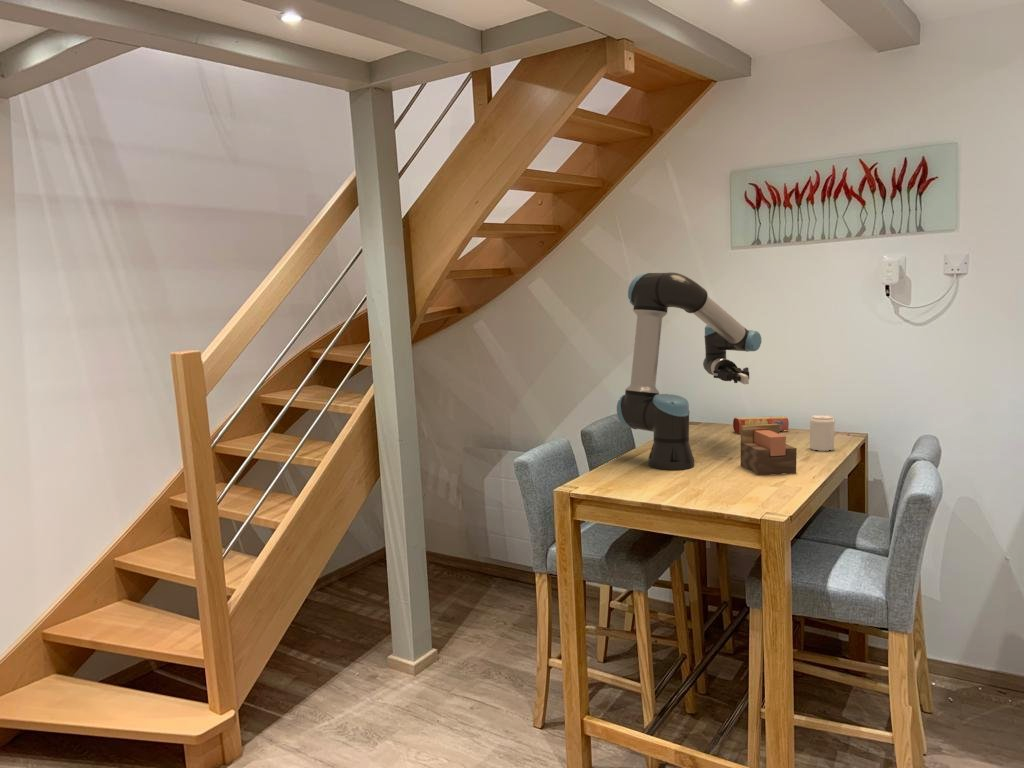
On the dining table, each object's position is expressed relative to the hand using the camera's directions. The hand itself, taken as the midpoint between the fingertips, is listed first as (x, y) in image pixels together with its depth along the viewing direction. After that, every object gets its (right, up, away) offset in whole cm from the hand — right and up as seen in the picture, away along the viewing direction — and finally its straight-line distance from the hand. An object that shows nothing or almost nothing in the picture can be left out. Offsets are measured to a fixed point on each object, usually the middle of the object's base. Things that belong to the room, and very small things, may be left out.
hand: (746, 380), depth 270 cm
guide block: (+4, -29, -9) cm, 31 cm away
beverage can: (+32, -25, +18) cm, 44 cm away
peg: (+4, -23, -10) cm, 25 cm away
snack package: (+21, -21, +54) cm, 61 cm away
